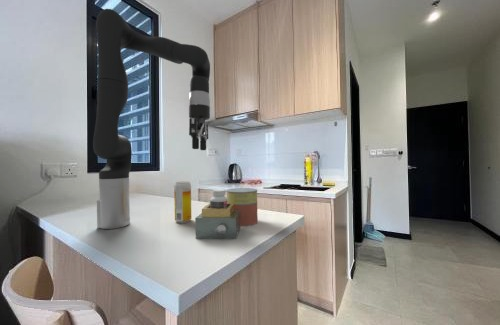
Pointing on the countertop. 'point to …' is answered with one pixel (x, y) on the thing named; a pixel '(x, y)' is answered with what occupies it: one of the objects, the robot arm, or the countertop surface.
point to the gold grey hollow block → (218, 222)
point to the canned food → (244, 204)
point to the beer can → (182, 201)
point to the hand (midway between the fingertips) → (199, 149)
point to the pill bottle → (218, 199)
